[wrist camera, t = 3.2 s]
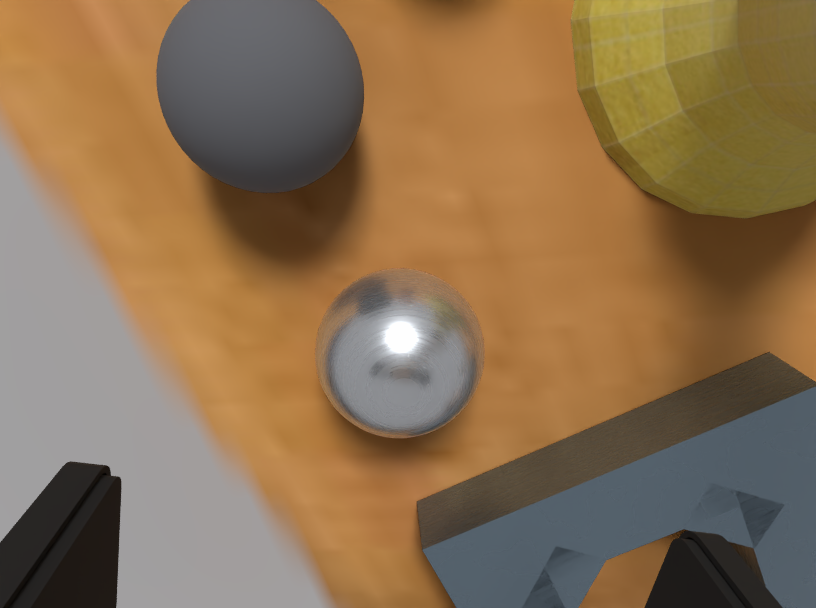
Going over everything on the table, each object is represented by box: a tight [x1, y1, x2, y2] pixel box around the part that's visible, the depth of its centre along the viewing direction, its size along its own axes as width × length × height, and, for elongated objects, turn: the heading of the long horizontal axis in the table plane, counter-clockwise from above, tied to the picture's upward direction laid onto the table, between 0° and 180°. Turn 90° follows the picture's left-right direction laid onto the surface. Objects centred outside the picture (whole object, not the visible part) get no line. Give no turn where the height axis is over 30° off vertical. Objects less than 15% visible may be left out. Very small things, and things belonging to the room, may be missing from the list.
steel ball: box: [315, 268, 485, 438], centre depth 17 cm, size 5×5×5 cm
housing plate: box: [417, 352, 816, 608], centre depth 23 cm, size 14×14×2 cm
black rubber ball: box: [157, 0, 364, 193], centre depth 15 cm, size 5×5×5 cm
